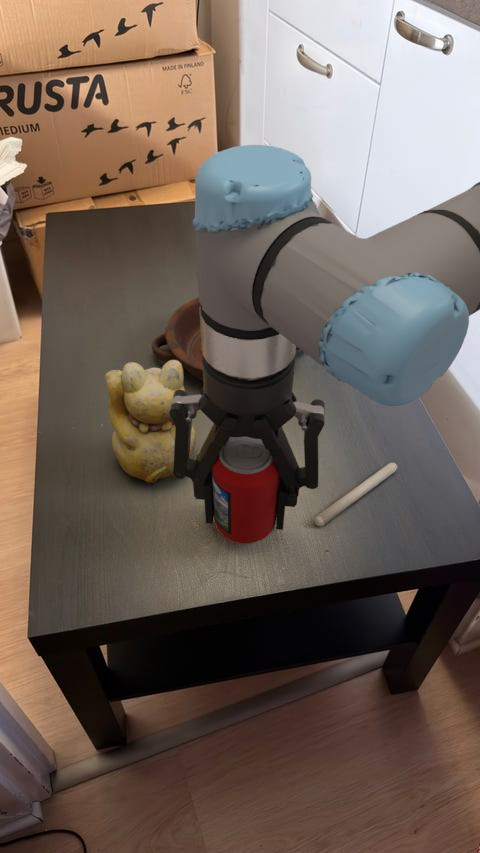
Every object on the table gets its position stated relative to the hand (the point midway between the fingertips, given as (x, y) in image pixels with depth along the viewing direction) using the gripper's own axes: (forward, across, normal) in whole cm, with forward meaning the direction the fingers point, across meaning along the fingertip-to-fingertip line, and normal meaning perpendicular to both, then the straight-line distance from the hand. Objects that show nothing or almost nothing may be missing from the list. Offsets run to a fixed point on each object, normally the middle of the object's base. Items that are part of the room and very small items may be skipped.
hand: (245, 516), depth 67 cm
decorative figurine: (+3, +11, -8) cm, 14 cm away
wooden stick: (+3, -12, -6) cm, 14 cm away
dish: (+3, +5, -29) cm, 29 cm away
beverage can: (+1, 0, 0) cm, 1 cm away
